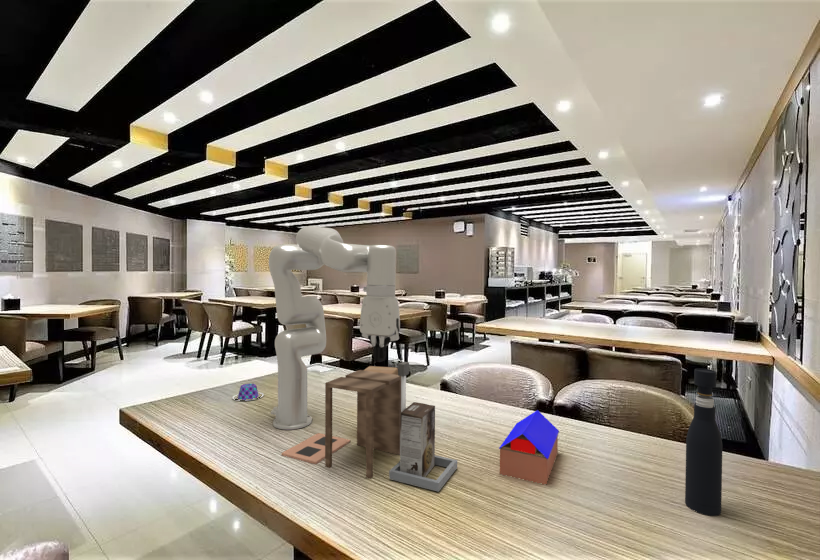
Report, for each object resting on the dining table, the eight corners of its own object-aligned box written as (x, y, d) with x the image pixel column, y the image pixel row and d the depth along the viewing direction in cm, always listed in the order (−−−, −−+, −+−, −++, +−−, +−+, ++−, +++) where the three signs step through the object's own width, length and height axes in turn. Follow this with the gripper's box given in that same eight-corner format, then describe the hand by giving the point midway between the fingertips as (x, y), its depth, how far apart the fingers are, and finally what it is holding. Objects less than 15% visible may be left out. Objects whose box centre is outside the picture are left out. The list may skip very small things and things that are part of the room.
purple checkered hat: (251, 403, 158) (251, 390, 158) (225, 401, 161) (225, 387, 161) (269, 395, 169) (270, 382, 169) (245, 392, 172) (245, 380, 172)
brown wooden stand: (325, 466, 106) (325, 382, 106) (358, 443, 120) (359, 369, 120) (371, 478, 100) (371, 389, 100) (400, 453, 114) (401, 375, 114)
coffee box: (412, 460, 110) (413, 401, 109) (435, 465, 107) (436, 404, 107) (398, 476, 101) (399, 411, 101) (422, 481, 99) (423, 415, 98)
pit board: (281, 455, 113) (281, 452, 113) (318, 434, 127) (318, 432, 127) (315, 464, 107) (315, 461, 107) (350, 442, 122) (350, 439, 122)
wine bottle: (678, 499, 92) (680, 367, 91) (704, 498, 92) (707, 366, 92) (700, 516, 85) (703, 374, 85) (729, 515, 86) (731, 373, 85)
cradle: (388, 478, 100) (388, 368, 99) (411, 457, 111) (411, 358, 111) (438, 491, 94) (439, 374, 93) (457, 467, 105) (458, 363, 105)
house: (558, 454, 115) (559, 413, 115) (547, 486, 97) (548, 438, 97) (516, 445, 120) (516, 406, 120) (498, 475, 103) (498, 429, 103)
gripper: (349, 291, 107) (348, 360, 108) (399, 294, 101) (398, 367, 101) (364, 290, 114) (363, 355, 115) (412, 292, 107) (411, 361, 108)
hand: (379, 360), depth 108 cm, fingers closed
